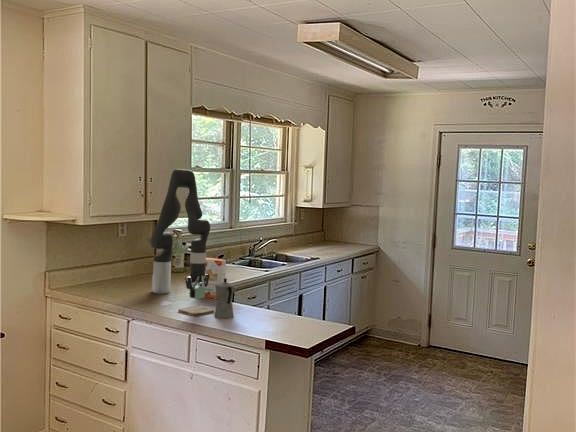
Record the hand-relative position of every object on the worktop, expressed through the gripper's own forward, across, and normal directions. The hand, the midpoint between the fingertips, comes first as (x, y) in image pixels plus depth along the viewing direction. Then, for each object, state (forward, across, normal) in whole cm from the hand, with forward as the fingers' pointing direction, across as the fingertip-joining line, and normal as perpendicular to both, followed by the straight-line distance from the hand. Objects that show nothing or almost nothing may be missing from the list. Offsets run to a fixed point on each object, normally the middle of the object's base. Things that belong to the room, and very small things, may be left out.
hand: (196, 296), depth 273 cm
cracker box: (+8, -27, -18) cm, 33 cm away
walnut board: (+8, 0, 0) cm, 8 cm away
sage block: (0, 0, 0) cm, 0 cm away
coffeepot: (+8, -4, +15) cm, 17 cm away
